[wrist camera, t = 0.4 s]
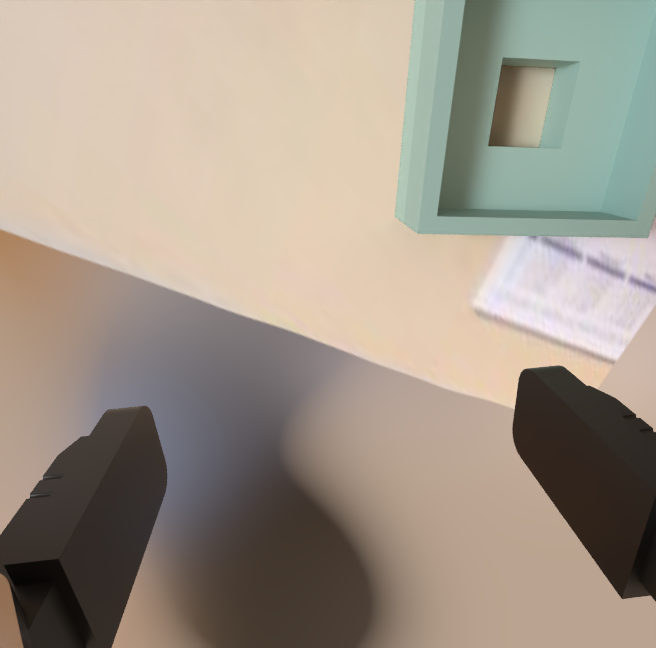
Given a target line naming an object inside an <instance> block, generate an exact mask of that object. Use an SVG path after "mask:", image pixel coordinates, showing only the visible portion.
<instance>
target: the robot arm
mask: <svg viewBox="0 0 656 648" xmlns="http://www.w3.org/2000/svg"><path fill="white" fill-rule="evenodd" d="M513 439H514V443H515V447H516V449H517V452H518V454H519V455H520V457H521V458H522V460H523V461H524V463H525V464H526V465H527V467H528V468H529V469H530V471H531V472H532V474H533V475H534V477H535V478H536V479H537V481H538V482H539V484H540V485H541V486H542V488H543V489H544V491H545V492H546V493H547V495H548V496H549V498H550V499H551V500H552V502H553V503H554V504H555V506H556V507H557V509H558V510H559V512H560V513H561V514H562V516H563V517H564V519H565V520H566V521H567V523H568V524H569V526H570V527H571V528H572V530H573V531H574V532H575V534H576V535H577V537H578V538H579V539H580V541H581V542H582V544H583V545H584V547H585V548H586V549H587V550H588V552H589V553H590V555H591V556H592V558H593V559H594V560H595V562H596V563H597V564H598V566H599V567H600V569H601V570H602V572H603V573H604V575H605V576H606V577H607V578H608V580H609V582H610V583H611V584H612V586H613V587H614V589H615V590H616V591H617V593H618V594H619V596H621V598H622V599H626V598H632V597H641V596H649V595H651V596H652V597H653V599H654V600H655V601H656V432H653V428H652V427H650V426H649V425H648V424H647V423H646V422H644V421H643V420H642V419H641V418H636V414H634V413H633V412H632V411H631V410H629V409H628V408H627V407H626V406H625V405H623V404H622V403H621V402H620V401H618V400H617V399H616V398H614V397H612V396H610V395H608V394H605V393H604V392H601V391H599V390H597V389H595V388H593V387H591V386H586V385H585V384H584V383H582V382H581V381H580V380H579V379H578V378H577V377H575V376H574V375H573V374H572V373H571V372H570V371H568V370H567V369H566V368H565V367H563V366H549V367H539V368H529V369H524V370H523V371H522V372H521V374H520V377H519V382H518V390H517V397H516V405H515V413H514V420H513ZM166 486H167V466H166V462H165V458H164V454H163V451H162V447H161V444H160V440H159V436H158V433H157V429H156V426H155V422H154V419H153V415H152V413H151V410H150V409H149V408H148V407H147V406H139V407H129V408H119V409H110V410H107V411H106V412H105V413H104V414H103V416H102V417H101V419H100V420H99V422H98V424H97V425H96V427H95V428H94V430H93V431H92V433H91V434H90V436H85V437H80V438H79V439H78V440H77V441H75V442H74V443H73V444H72V445H70V446H69V447H68V448H67V449H65V450H64V451H63V452H62V453H60V454H59V455H58V456H57V457H56V459H55V460H54V462H53V463H52V464H51V466H50V467H49V469H48V470H47V472H46V473H45V474H44V475H43V480H40V481H39V483H38V484H37V485H36V487H35V488H34V490H33V491H32V492H31V493H30V499H26V500H25V502H24V503H23V505H22V506H21V507H20V509H19V510H18V512H17V513H16V514H15V516H14V517H13V518H12V520H11V521H10V523H9V524H8V525H7V527H6V528H5V529H4V531H3V532H2V534H1V535H0V648H111V647H112V644H113V642H114V638H115V636H116V633H117V630H118V627H119V624H120V622H121V618H122V615H123V613H124V610H125V607H126V604H127V601H128V599H129V596H130V593H131V590H132V587H133V584H134V581H135V578H136V576H137V572H138V570H139V567H140V564H141V561H142V558H143V555H144V552H145V550H146V547H147V544H148V541H149V538H150V535H151V532H152V530H153V527H154V524H155V521H156V518H157V515H158V512H159V510H160V506H161V504H162V501H163V497H164V495H165V491H166Z"/></svg>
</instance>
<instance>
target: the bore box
mask: <svg viewBox="0 0 656 648" xmlns="http://www.w3.org/2000/svg"><path fill="white" fill-rule="evenodd" d="M501 65H508V66H527V67H546V68H556V70H555V75H554V80H553V85H552V89H551V94H550V99H549V104H548V108H547V113H546V118H545V123H544V128H543V132H542V137H541V142H540V147H539V148H526V147H499V146H488V143H489V137H490V131H491V125H492V119H493V113H494V107H495V101H496V95H497V89H498V83H499V77H500V71H501ZM655 215H656V0H415V8H414V18H413V29H412V40H411V51H410V61H409V72H408V83H407V93H406V104H405V115H404V126H403V136H402V147H401V158H400V168H399V179H398V190H397V201H396V211H395V217H396V218H397V219H399V220H400V221H401V222H403V223H404V224H405V225H407V226H408V227H409V228H411V229H412V230H413V231H415V232H416V233H417V234H458V235H514V236H569V237H625V238H648V236H649V233H650V230H651V227H652V224H653V221H654V218H655Z"/></svg>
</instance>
